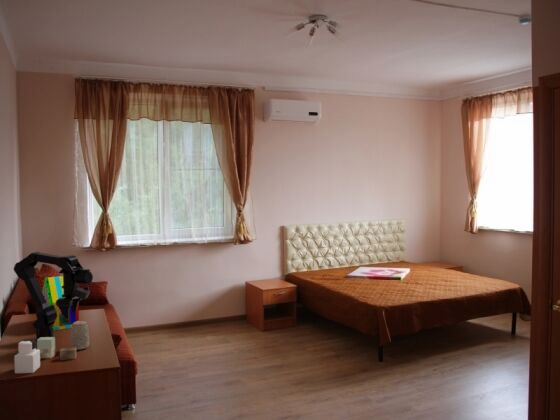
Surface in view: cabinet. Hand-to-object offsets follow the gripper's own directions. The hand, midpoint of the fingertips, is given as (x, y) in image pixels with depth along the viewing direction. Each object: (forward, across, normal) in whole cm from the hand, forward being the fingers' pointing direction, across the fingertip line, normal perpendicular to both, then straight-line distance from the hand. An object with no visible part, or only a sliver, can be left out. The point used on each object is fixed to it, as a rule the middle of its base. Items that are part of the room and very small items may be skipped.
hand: (70, 316), depth 234 cm
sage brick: (+8, -20, +3) cm, 22 cm away
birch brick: (+12, -20, +3) cm, 24 cm away
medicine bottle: (+12, -35, +4) cm, 37 cm away
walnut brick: (+12, -22, -7) cm, 26 cm away
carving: (+12, -10, -8) cm, 18 cm away
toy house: (+12, +30, +17) cm, 37 cm away
